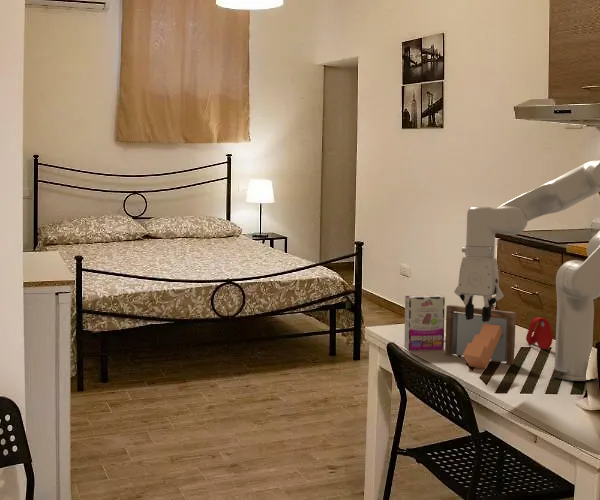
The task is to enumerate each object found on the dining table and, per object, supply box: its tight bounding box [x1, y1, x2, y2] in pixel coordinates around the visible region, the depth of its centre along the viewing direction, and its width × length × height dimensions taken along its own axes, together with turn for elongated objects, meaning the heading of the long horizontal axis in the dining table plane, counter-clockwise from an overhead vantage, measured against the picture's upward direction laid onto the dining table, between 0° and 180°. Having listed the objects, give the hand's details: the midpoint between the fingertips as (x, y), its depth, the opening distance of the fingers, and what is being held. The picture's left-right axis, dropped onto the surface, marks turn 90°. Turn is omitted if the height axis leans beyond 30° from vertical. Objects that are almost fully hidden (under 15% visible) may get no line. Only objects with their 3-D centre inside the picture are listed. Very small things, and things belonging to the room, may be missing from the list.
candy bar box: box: [403, 294, 446, 351], centre depth 252 cm, size 11×5×16 cm, turn 101°
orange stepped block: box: [462, 324, 503, 370], centre depth 230 cm, size 5×13×6 cm
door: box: [452, 312, 508, 363], centre depth 239 cm, size 17×3×12 cm, turn 52°
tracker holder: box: [525, 316, 553, 350], centre depth 257 cm, size 12×4×10 cm, turn 16°
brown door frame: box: [444, 304, 517, 366], centre depth 239 cm, size 20×2×14 cm, turn 52°
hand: (477, 319), depth 227 cm, fingers open, 4 cm apart
